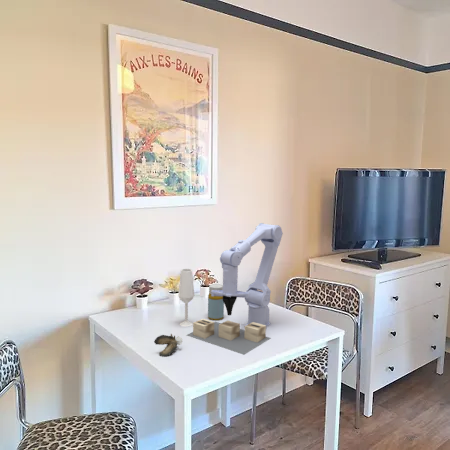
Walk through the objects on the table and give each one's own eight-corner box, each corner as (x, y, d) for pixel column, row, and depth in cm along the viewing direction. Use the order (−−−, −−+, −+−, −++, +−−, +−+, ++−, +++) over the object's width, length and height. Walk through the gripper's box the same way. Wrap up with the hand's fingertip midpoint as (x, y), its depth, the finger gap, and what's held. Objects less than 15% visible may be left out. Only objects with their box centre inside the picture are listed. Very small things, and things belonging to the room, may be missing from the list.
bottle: (225, 320, 185) (226, 287, 183) (211, 322, 183) (211, 288, 181) (220, 315, 192) (220, 283, 190) (205, 316, 189) (206, 284, 187)
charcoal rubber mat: (215, 322, 182) (215, 321, 182) (271, 339, 166) (271, 338, 166) (186, 336, 167) (186, 335, 167) (244, 355, 151) (244, 354, 151)
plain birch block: (227, 332, 171) (227, 320, 170) (239, 335, 167) (239, 323, 167) (218, 336, 166) (218, 324, 166) (230, 340, 163) (231, 328, 162)
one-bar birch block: (252, 333, 170) (253, 321, 169) (265, 337, 166) (265, 325, 165) (244, 338, 165) (244, 326, 164) (257, 342, 161) (257, 329, 161)
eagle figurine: (165, 341, 159) (149, 345, 152) (175, 327, 157) (159, 331, 150) (177, 356, 156) (161, 361, 148) (187, 342, 154) (172, 346, 146)
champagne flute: (175, 325, 178) (175, 270, 174) (184, 320, 184) (184, 267, 180) (188, 328, 175) (188, 272, 171) (197, 323, 181) (197, 269, 177)
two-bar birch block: (202, 330, 172) (202, 318, 172) (214, 334, 169) (214, 321, 168) (193, 334, 168) (193, 322, 167) (204, 338, 164) (204, 326, 163)
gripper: (210, 282, 161) (209, 316, 163) (247, 284, 159) (246, 319, 161) (213, 278, 168) (212, 310, 170) (249, 279, 166) (248, 312, 168)
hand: (229, 314), depth 166 cm, fingers closed
